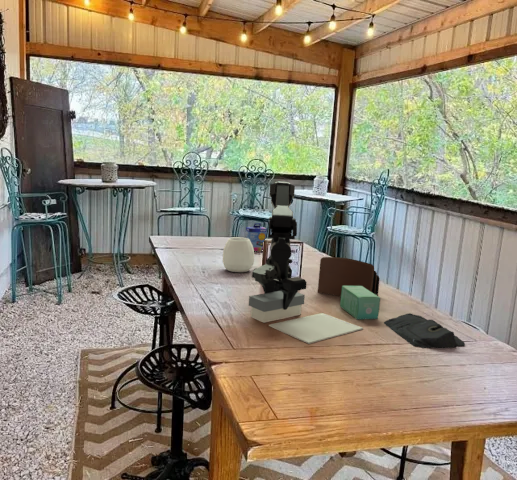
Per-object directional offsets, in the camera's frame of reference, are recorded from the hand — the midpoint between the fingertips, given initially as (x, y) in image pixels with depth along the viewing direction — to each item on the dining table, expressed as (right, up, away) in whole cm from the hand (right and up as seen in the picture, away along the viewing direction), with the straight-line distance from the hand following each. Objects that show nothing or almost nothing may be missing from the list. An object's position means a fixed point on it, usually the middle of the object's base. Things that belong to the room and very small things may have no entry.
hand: (276, 306), depth 152 cm
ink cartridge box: (-7, +14, +104) cm, 105 cm away
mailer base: (0, -3, 0) cm, 3 cm away
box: (+26, -4, +8) cm, 28 cm away
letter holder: (+27, 0, +30) cm, 40 cm away
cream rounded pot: (-14, +7, +58) cm, 60 cm away
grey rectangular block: (0, 0, 0) cm, 0 cm away
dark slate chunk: (+41, -8, -8) cm, 43 cm away
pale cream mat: (+11, -5, -8) cm, 15 cm away
